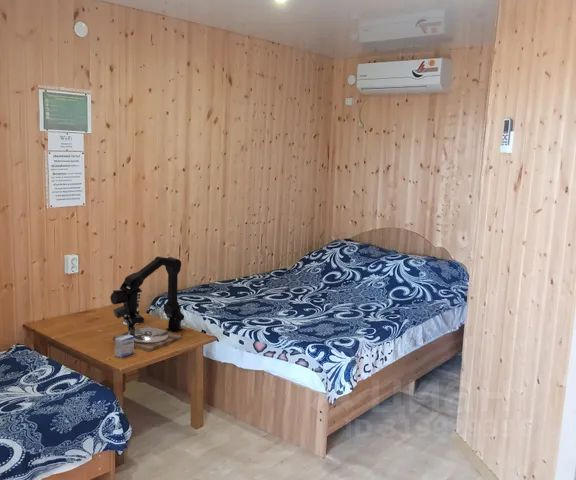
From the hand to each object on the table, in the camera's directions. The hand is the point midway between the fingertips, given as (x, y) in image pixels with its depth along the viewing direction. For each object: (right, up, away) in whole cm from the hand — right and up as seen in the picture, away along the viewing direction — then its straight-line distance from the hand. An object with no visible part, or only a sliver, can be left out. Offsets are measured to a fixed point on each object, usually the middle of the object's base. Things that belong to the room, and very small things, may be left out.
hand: (129, 331), depth 286 cm
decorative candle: (-7, 0, +26) cm, 27 cm away
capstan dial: (+8, -3, +4) cm, 10 cm away
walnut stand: (+8, -5, +4) cm, 10 cm away
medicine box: (+2, -8, -18) cm, 20 cm away
